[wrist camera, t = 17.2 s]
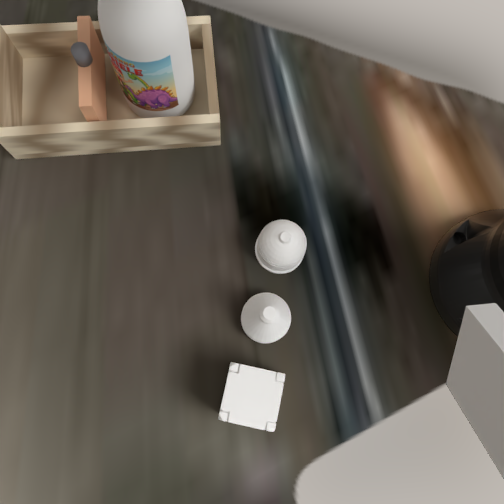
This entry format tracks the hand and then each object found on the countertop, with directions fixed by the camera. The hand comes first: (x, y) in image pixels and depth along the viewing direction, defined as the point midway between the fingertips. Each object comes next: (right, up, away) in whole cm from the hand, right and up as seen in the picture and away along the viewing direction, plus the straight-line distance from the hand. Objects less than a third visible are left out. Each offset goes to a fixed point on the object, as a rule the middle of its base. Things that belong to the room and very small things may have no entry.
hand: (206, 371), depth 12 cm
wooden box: (-14, +20, +41) cm, 48 cm away
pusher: (-15, +20, +40) cm, 47 cm away
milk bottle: (-9, +20, +40) cm, 46 cm away
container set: (+2, -4, +36) cm, 37 cm away
